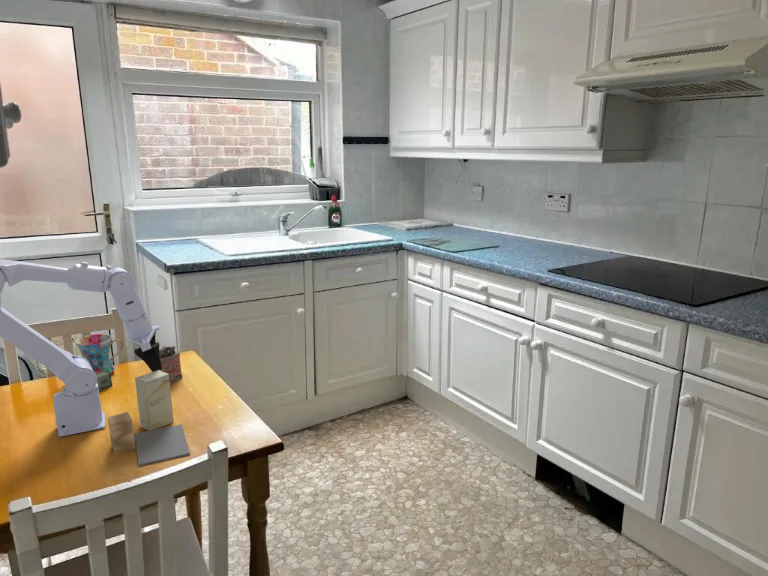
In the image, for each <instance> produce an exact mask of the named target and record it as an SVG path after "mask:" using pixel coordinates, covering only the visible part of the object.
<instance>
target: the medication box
mask: <svg viewBox="0 0 768 576" xmlns="http://www.w3.org/2000/svg"><path fill="white" fill-rule="evenodd" d="M96 375H97V383H98V388H99V392H101V391H102V390H105V389H109V388H111V387H113V382H112V377H111V374H110V373H109V372H106V371H105V372H101V373H99V374H96ZM64 386H65V385H63V386H61V392H62V391H63V388H64Z"/></svg>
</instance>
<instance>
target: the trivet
mask: <svg viewBox="0 0 768 576" xmlns="http://www.w3.org/2000/svg"><path fill="white" fill-rule="evenodd" d="M134 439H135V447H136V454H137V462H138V467H142V466H147V465H150V464H155V463H159V462H163V461H169V460H172V459H177V458H182V457H185V456H190V455H191V452H190V448H189V445H188V441H187V438H186V434H185V432H184V427H183V424H181V423H180V424H176V425H171V426H166V427H160V428H157V429H155V430H151V431H149V430H146V431H142V432H138V433H137V432H136V433H134Z"/></svg>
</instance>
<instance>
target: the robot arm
mask: <svg viewBox="0 0 768 576" xmlns="http://www.w3.org/2000/svg"><path fill="white" fill-rule="evenodd" d="M23 281H30V282H31V281H34V282H46V283H47V282H48V283H61V284H62V283H63V284H66V285H67V286H68V287H69V289H71V290H74V291H82V292H83V291H84V292H95V293H105V292H109V293H110V295H111V298H112V300H113V304H114V307H115V309H116V311H117V314H118V315H119V318H120V319H121V322H122V324H123V326H124V328H125V331H126V333H127V335H128V340H129V341H130V342H131V343H134V344H136V345H137V346H139V347H138V348H136V349H135V348H134V349H133V351H134V354H135V356H137V357H138V358H139V359H141V360H142V361H143V362H144V363H145V365H146V366H147V367H148V368H149V370H150V372H154V371H157V370H162V366H161V361H160V357H159V349H160V343H159V341H156V333H157V331H159V330H160V326H159V325H158V324H157V325H153V323H152V321H151V318H150V316H149V314H148V312H147V310H146V307H145V305H144V303H143V301H142V298H141V296H140V294H139V293H138V291H137V288H136V285H137V283H136V279H135V278H134V276H133V275H131V273H129V271H127V270H126V269H124V268H122V267H118V266H116V265H114V266H111V265H105V266H104V267H103V266H96V265H89V263H88V262H86V261H80V263H74V264H73V265H71V266H69V267H67V268H65V267H62V266H61V267H60V266H53V265H46V264H40V263H33V262H29V261H27V262H26V261H21V260H20V261H19V260H13V259H12V260H11V259H4V258H3V259H1V258H0V296H1V295H2V292H3V290H4V287H5V283H7V284H8V288H11V287H13V286H15V285H17V284H19V283H21V282H23ZM1 298H2V297H0V338H2V339H3V340H5V341H6V342H8V343H9V344H11V345H12V346H13V347H14V348H15V347H16V348H17V349H18V350H20V351H21V352H23V353H24V354H25V355H27V356H29V357H30V358H32V359H33V360H35V361H37V363H40V364H41V365H42V366H44V367H45V368H47V369H48V370H49V371H51V373H53V375H54V376H55V377H57V379H59V380H60V381H61V382H62V383H64V385H63V386H64V388H63V391H62V390H61V391H60V392H56V393H53V401H52V402H53V410H54V416H55V424H56V425H55V426H56V428H57V436H58V437H66V436H71V435H75V434H79V433H80V434H81V433H85V432H91V431H95V430H101V429H105V428H106V412H104V411H103V409H102V404H101V397H100V396H101V395H100V391H99V388H98V383H97V375H96V373H95V372H94V371H93V370H92V368H91V365H90V363H89V361H88V360H87V359H86V358H84V357H83V356H81V355H74V354H72V353H71V352H69V351H67V350H64V349H62V348H61V347H59V346H58V345H56V344H55V343H53V342H52V341H50V340H49V339H48V338H46V337H45V336H44V335H42V334H41V333H40V332H38V331H36V330H35V329H33V328H32V327H31V326H29V325H28V324H26V323H25V322H23V321H22V320H21V319H19V318H18V317H16V315H13V314H12V313H10V312H9V311H8V310H6V309H5V308H4V307H2V305H1Z"/></svg>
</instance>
